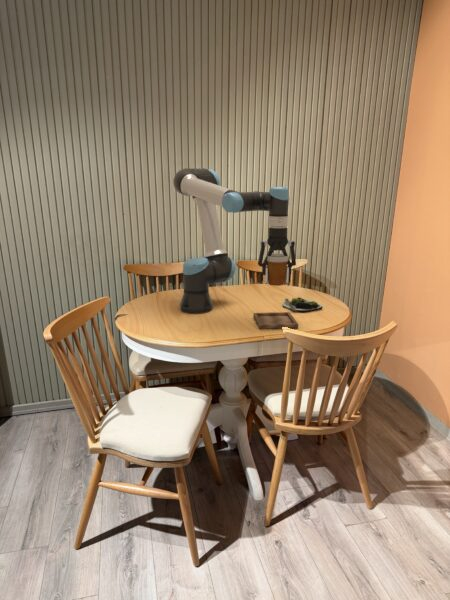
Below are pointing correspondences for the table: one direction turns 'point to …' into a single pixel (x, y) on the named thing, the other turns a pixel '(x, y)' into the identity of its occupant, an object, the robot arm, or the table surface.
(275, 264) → the disposable coffee cup
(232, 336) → the table surface
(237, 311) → the table surface
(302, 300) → the salad plate
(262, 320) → the walnut tray
